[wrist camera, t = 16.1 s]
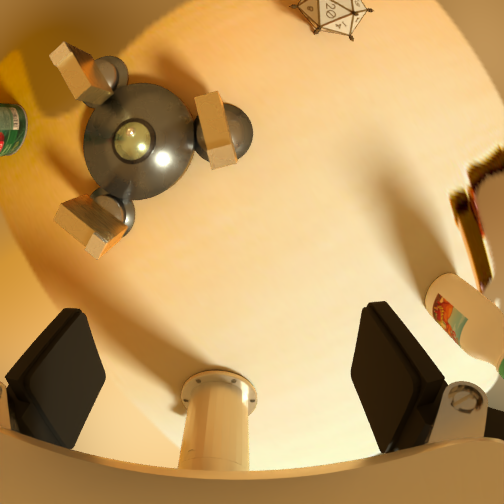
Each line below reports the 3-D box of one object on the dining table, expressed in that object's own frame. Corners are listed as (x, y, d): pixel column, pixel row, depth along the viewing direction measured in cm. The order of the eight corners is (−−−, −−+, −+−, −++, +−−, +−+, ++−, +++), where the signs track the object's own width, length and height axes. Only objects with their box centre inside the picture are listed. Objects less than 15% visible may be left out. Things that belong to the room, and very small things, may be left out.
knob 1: (75, 76, 29) (39, 65, 21) (105, 50, 28) (74, 32, 21) (97, 114, 31) (62, 108, 23) (129, 87, 30) (100, 74, 23)
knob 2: (250, 156, 34) (252, 159, 26) (207, 168, 34) (195, 174, 26) (236, 99, 32) (233, 85, 24) (192, 111, 32) (176, 101, 24)
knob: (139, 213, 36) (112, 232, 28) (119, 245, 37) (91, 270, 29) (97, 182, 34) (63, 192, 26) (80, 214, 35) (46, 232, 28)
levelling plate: (181, 278, 39) (176, 289, 36) (36, 199, 35) (22, 204, 32) (263, 121, 33) (265, 118, 30) (95, 50, 29) (83, 44, 25)
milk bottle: (436, 267, 40) (521, 337, 21) (466, 276, 41) (545, 339, 22) (416, 311, 42) (485, 393, 23) (447, 317, 43) (514, 389, 24)
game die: (330, 36, 32) (376, 57, 27) (274, 25, 29) (315, 41, 24) (345, -17, 26) (396, -6, 20) (288, -35, 23) (335, -33, 17)
